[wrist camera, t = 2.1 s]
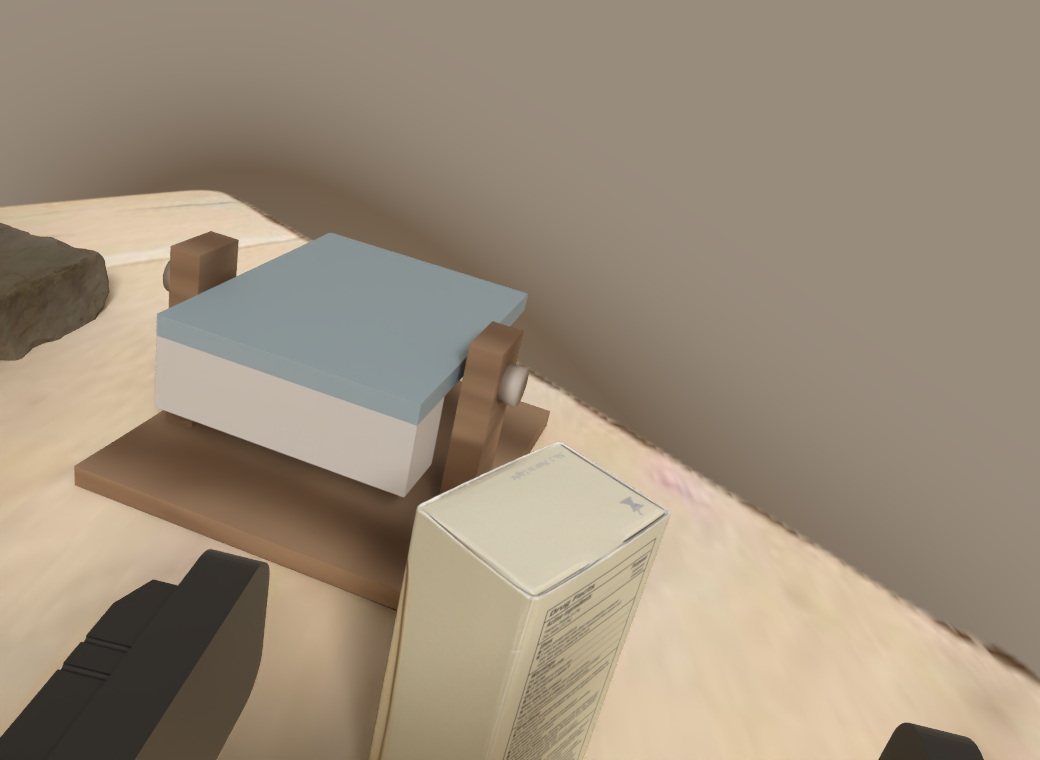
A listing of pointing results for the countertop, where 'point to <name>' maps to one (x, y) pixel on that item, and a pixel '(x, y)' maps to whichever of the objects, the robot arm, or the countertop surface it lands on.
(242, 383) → the trapdoor flap
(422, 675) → the skincare box
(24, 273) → the grey brown flat block
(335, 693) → the countertop surface
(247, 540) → the frame
